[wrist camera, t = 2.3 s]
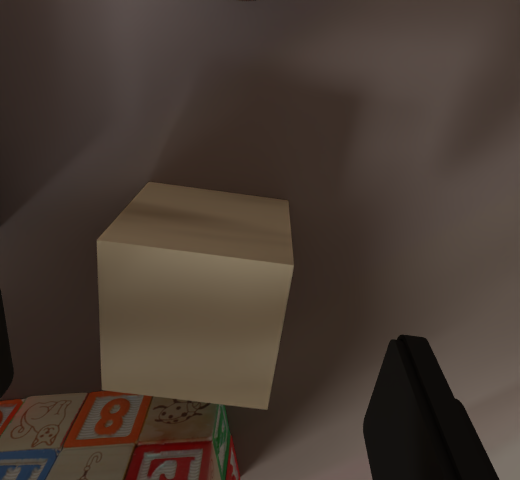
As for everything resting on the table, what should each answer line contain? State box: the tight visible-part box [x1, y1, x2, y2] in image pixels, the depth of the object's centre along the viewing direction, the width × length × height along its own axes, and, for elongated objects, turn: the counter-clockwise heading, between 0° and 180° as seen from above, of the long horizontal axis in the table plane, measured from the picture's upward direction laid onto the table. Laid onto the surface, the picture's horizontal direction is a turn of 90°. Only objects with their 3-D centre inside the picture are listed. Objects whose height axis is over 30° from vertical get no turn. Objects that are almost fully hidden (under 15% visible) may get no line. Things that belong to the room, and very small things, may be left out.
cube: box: [97, 182, 294, 410], centre depth 14 cm, size 5×5×5 cm
